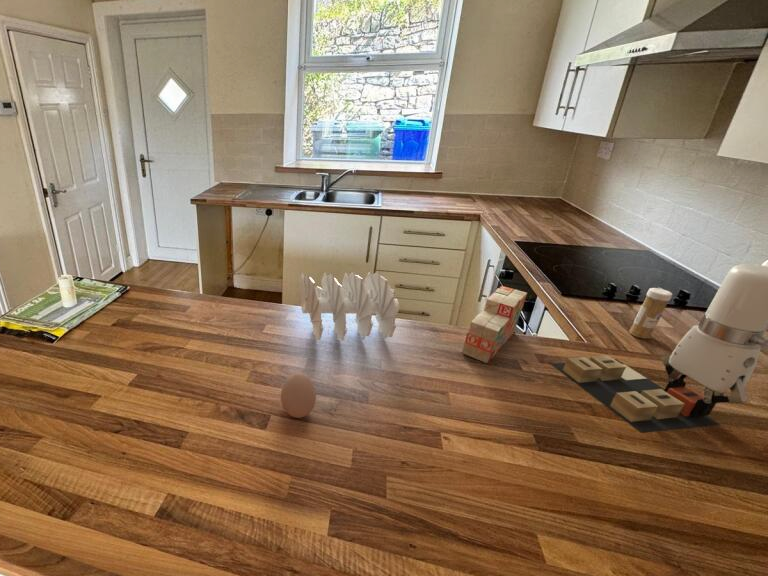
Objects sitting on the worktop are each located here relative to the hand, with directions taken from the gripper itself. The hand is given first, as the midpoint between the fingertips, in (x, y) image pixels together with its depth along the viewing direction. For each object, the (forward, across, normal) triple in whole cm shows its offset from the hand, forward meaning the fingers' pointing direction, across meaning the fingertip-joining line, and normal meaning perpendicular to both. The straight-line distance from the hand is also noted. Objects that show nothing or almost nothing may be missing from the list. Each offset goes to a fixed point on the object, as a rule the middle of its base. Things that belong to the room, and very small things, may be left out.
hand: (683, 405), depth 82 cm
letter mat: (+1, +6, +6) cm, 9 cm away
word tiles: (+1, +6, +9) cm, 11 cm away
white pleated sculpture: (+1, +36, +59) cm, 69 cm away
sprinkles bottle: (+2, +27, -21) cm, 34 cm away
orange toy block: (+1, 0, 0) cm, 1 cm away
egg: (+1, +8, +79) cm, 80 cm away
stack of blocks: (+1, +28, +23) cm, 36 cm away
